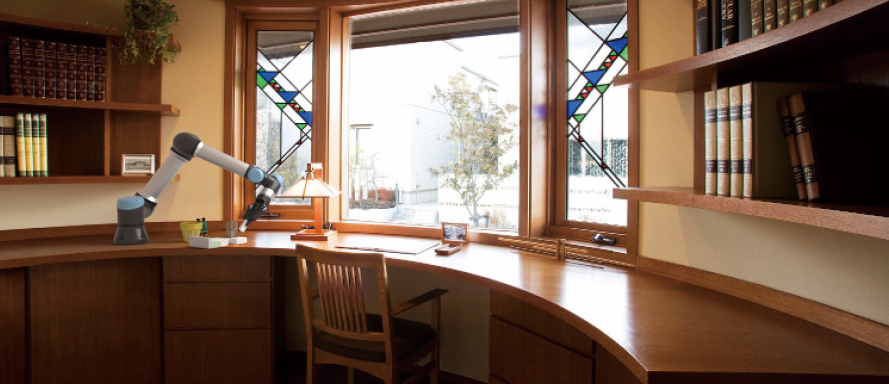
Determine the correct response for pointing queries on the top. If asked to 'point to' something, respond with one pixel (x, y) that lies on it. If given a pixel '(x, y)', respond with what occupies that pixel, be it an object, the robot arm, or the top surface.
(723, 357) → the top surface
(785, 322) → the top surface
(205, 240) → the trap board
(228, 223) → the walnut block
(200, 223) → the plant pot
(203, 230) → the binoculars
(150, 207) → the robot arm
